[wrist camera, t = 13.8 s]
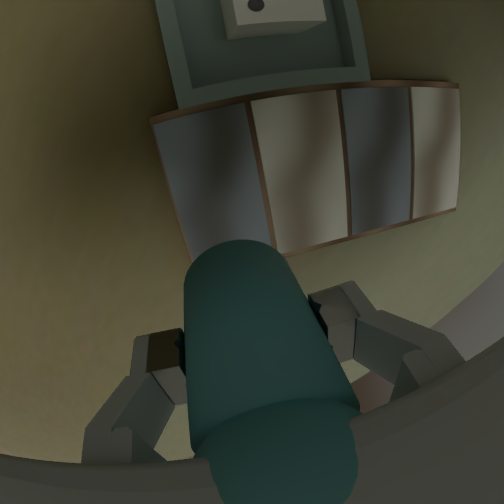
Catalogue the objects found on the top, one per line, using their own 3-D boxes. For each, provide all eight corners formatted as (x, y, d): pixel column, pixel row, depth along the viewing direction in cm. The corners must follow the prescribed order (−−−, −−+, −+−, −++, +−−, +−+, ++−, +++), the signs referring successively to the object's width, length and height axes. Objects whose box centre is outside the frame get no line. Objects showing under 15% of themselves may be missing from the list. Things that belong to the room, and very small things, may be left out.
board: (449, 81, 19) (460, 83, 18) (447, 205, 25) (456, 211, 24) (150, 116, 17) (147, 118, 16) (197, 270, 24) (197, 281, 22)
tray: (322, -60, 12) (335, -72, 10) (353, 80, 18) (371, 81, 16) (148, -45, 11) (144, -59, 9) (180, 108, 17) (179, 109, 15)
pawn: (289, 220, 10) (469, 514, 2) (301, 315, 12) (399, 536, 4) (161, 252, 10) (159, 596, 2) (198, 342, 12) (233, 581, 4)
